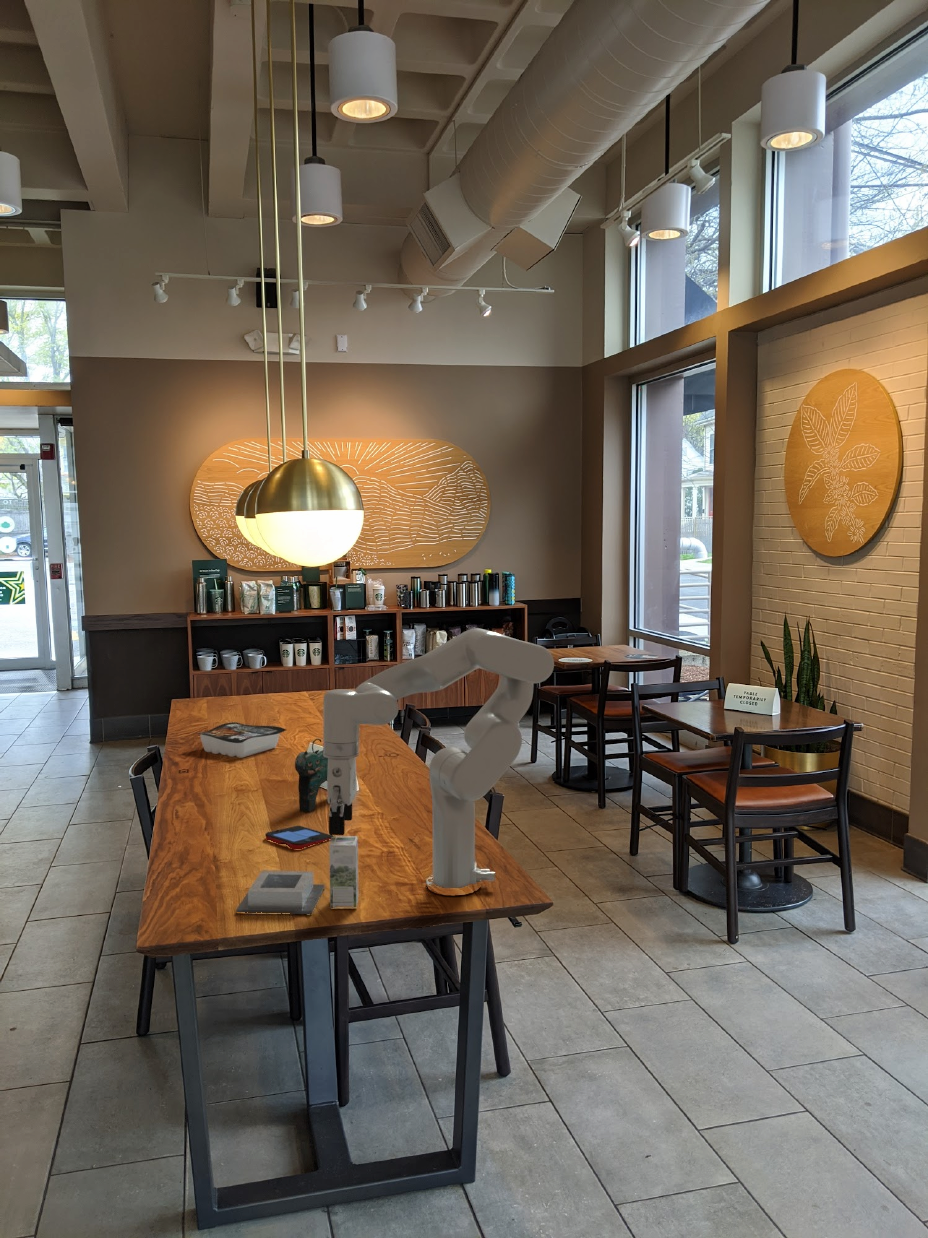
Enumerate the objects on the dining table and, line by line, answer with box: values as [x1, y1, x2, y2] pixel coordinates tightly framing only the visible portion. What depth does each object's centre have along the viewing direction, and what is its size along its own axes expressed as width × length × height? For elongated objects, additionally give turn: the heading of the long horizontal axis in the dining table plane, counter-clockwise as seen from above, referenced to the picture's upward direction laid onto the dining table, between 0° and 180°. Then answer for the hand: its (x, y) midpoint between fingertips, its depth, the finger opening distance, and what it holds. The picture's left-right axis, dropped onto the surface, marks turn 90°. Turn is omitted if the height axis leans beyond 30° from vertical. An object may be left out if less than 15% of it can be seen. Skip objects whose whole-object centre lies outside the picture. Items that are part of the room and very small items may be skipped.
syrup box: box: [328, 835, 360, 909], centre depth 199 cm, size 6×6×14 cm
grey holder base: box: [235, 870, 325, 915], centre depth 201 cm, size 16×14×4 cm
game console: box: [265, 825, 335, 850], centre depth 241 cm, size 14×13×2 cm
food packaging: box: [197, 721, 287, 759], centre depth 335 cm, size 25×8×23 cm
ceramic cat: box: [294, 738, 328, 814], centre depth 270 cm, size 20×6×20 cm, turn 151°
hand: (340, 827), depth 197 cm, fingers open, 9 cm apart
